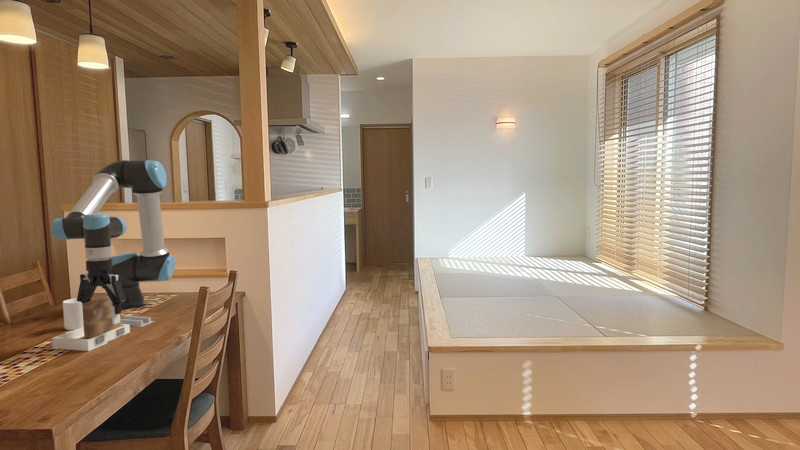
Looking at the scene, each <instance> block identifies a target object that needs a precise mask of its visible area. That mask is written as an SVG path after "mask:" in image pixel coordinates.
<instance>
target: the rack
mask: <svg viewBox="0 0 800 450" xmlns="http://www.w3.org/2000/svg"><path fill="white" fill-rule="evenodd" d="M154 322H155V320H152V317H149V316H140V315H139V316H138V315H137V316H135V315H125V316H124V317H123V318H121V324H130V327H141V328H142V327H145V326H147V325H150V324H152V323H154Z"/></svg>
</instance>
